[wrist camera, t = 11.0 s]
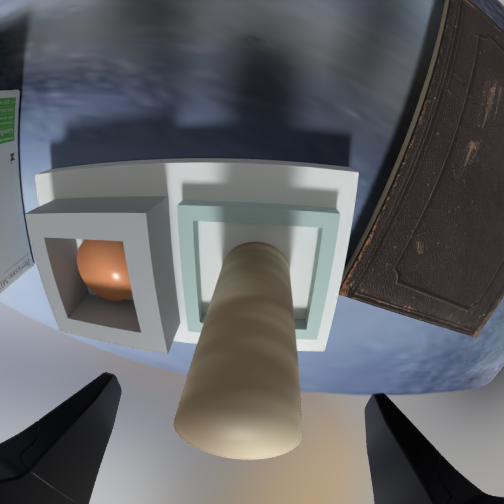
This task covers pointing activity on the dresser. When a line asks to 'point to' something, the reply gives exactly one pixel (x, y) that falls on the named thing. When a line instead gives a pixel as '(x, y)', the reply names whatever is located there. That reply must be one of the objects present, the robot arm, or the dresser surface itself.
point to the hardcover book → (444, 190)
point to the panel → (189, 240)
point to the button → (104, 268)
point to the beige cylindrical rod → (245, 362)
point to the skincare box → (11, 196)
